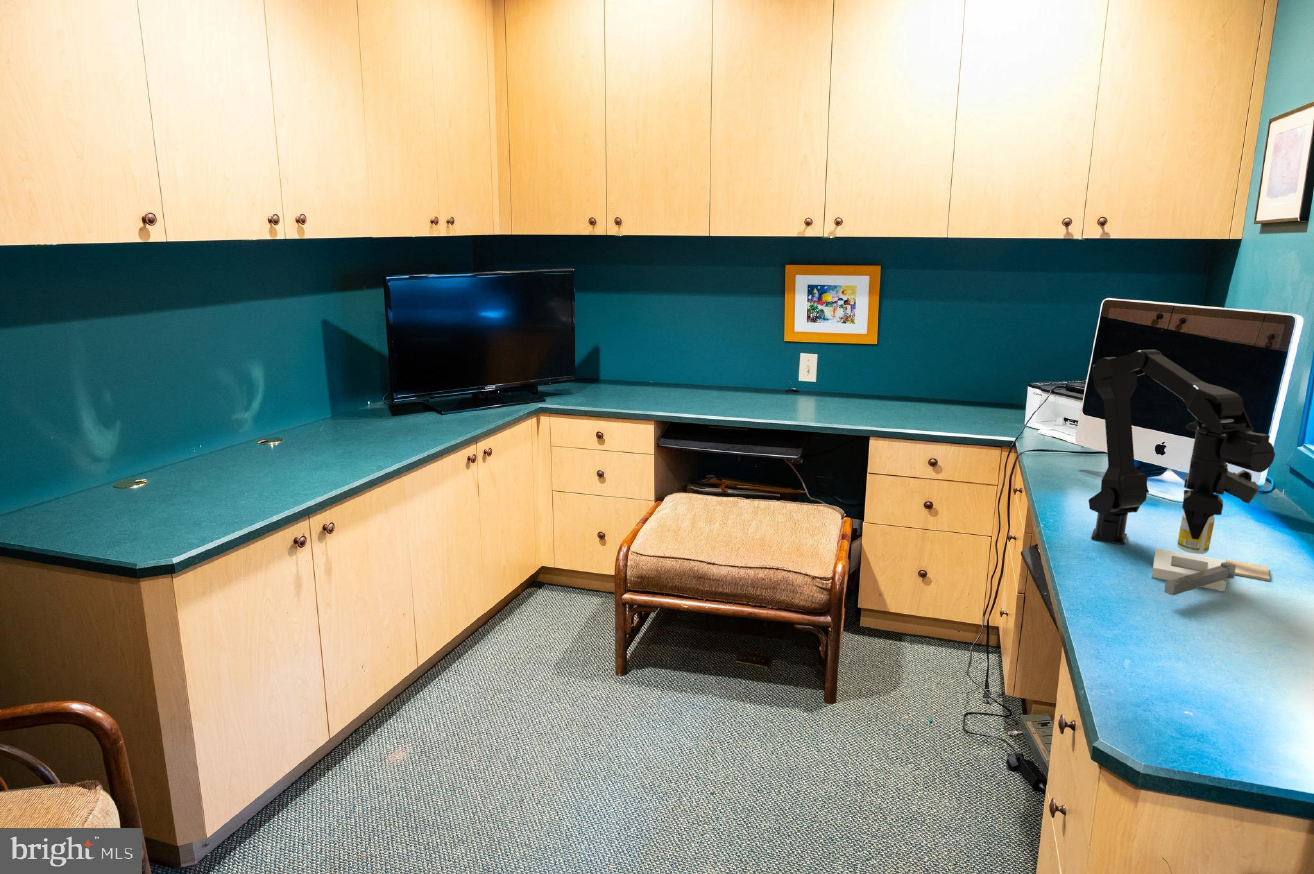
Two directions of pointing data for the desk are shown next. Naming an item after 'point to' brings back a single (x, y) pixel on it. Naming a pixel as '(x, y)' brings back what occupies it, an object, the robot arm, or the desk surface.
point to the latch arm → (1200, 579)
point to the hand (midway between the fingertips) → (1195, 534)
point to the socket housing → (1168, 572)
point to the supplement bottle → (1195, 545)
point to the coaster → (1250, 570)
